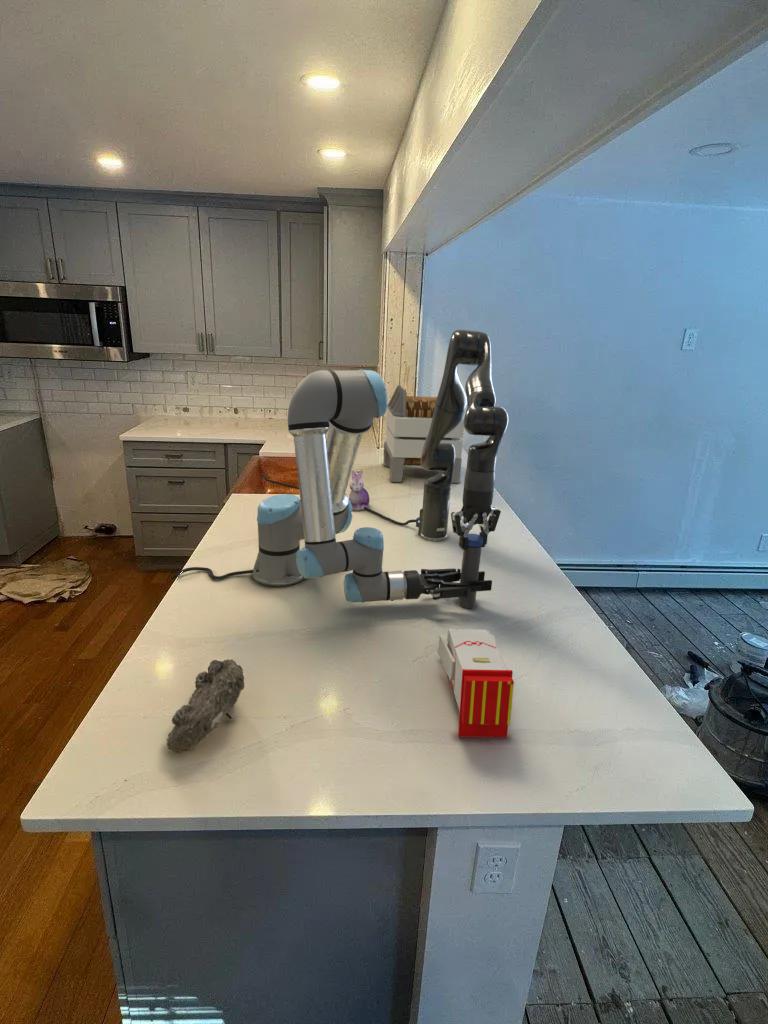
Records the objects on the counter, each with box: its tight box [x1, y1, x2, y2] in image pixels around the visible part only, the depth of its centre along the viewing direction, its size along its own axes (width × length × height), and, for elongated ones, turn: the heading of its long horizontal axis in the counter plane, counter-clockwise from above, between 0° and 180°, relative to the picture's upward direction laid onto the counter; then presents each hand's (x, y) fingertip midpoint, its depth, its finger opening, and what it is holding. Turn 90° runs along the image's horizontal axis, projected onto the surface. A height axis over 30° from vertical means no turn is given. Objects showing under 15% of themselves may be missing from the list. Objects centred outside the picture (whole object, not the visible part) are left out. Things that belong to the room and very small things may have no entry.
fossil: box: [166, 658, 245, 754], centre depth 106 cm, size 22×10×15 cm
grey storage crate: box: [383, 384, 465, 484], centre depth 268 cm, size 34×33×41 cm
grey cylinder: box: [457, 546, 482, 609], centre depth 151 cm, size 5×5×19 cm
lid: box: [467, 533, 483, 547], centre depth 148 cm, size 5×5×2 cm
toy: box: [437, 628, 515, 738], centre depth 117 cm, size 12×13×30 cm
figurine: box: [348, 469, 370, 511], centre depth 222 cm, size 9×10×15 cm
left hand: (487, 580), depth 153 cm, fingers closed on grey cylinder, 5 cm apart
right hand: (472, 547), depth 149 cm, fingers closed on lid, 5 cm apart
